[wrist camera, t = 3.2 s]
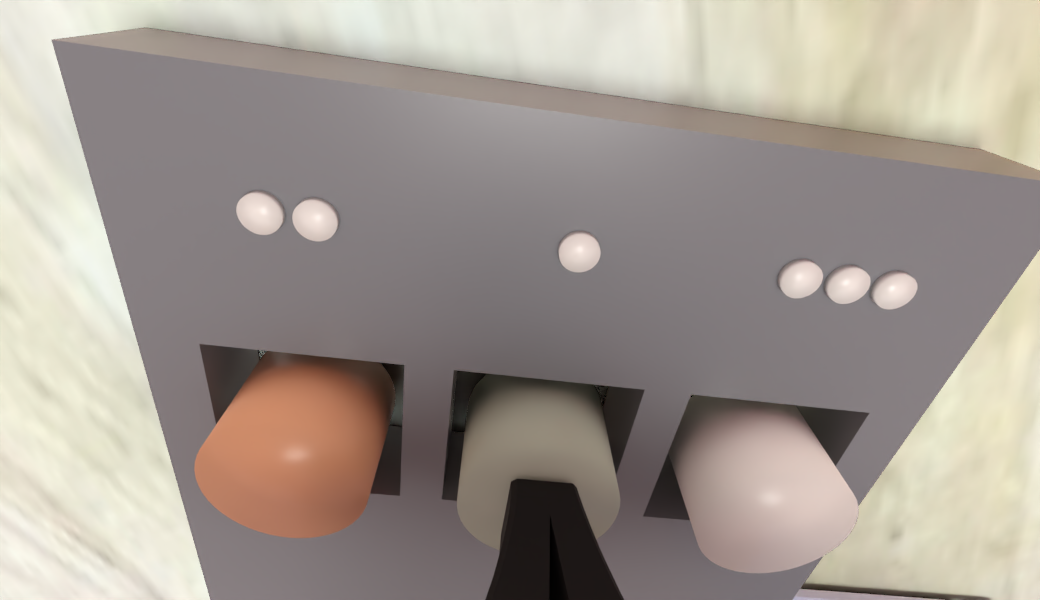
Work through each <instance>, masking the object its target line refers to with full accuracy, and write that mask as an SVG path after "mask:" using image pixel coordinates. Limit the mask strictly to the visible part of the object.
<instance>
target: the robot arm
mask: <svg viewBox="0 0 1040 600" xmlns="http://www.w3.org/2000/svg"><path fill="white" fill-rule="evenodd" d="M485 600H624V598H623V596H622V594H621V592H620V590H619V588H618V586H617V584H616V582H615V580H614V578H613V576H612V573H611V571H610V569H609V567H608V565H607V563H606V561H605V558H604V556H603V554H602V552H601V549H600V547H599V545H598V542H597V540H596V538H595V535H594V533H593V530H592V528H591V526H590V523H589V520H588V518H587V515H586V513H585V510H584V507H583V504H582V502H581V499H580V496H579V493H578V490H577V487H576V486H575V485H574V484H573V483H563V482H552V481H540V480H528V479H515V480H513V481H511V484H510V489H509V494H508V500H507V505H506V510H505V515H504V521H503V526H502V531H501V540H500V551H499V558H498V561H497V565H496V568H495V572H494V575H493V578H492V582H491V585H490V587H489V590H488V593H487V596H486V599H485ZM792 600H943V599H929V598H916V597H903V596H889V595H876V594H863V593H850V592H836V591H823V590H810V589H800V590H799V591H798V592H797V594H796V595H795V597H794V598H793V599H792Z"/></svg>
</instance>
